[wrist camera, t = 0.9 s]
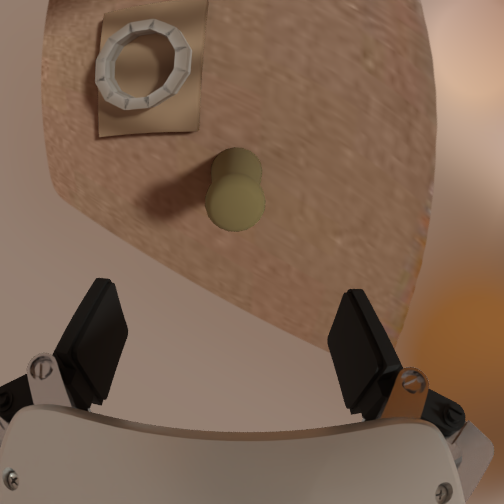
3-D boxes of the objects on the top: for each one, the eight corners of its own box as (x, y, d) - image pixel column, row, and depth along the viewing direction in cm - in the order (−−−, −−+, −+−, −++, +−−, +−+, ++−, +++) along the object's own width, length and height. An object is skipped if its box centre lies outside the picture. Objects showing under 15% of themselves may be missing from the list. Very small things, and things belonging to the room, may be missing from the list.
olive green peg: (206, 190, 32) (192, 235, 23) (216, 142, 29) (204, 167, 20) (254, 200, 33) (260, 248, 24) (268, 154, 30) (281, 184, 21)
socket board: (109, 16, 18) (94, 9, 15) (208, 2, 19) (204, -10, 16) (104, 134, 27) (89, 141, 24) (199, 129, 28) (193, 134, 25)
